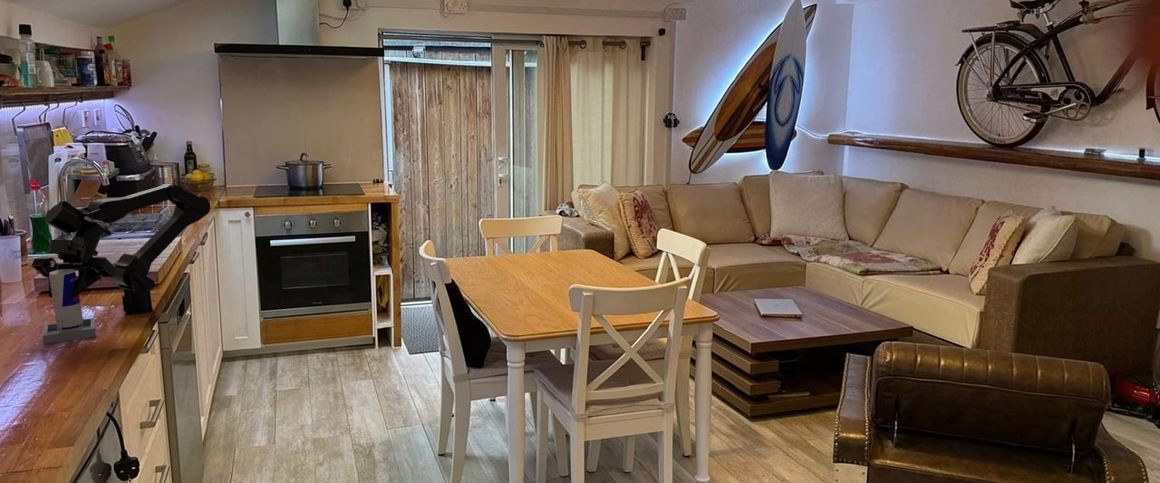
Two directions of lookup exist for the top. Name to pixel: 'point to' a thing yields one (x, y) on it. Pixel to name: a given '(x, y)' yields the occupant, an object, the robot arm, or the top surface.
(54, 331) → the tray
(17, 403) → the top surface
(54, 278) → the beverage can
